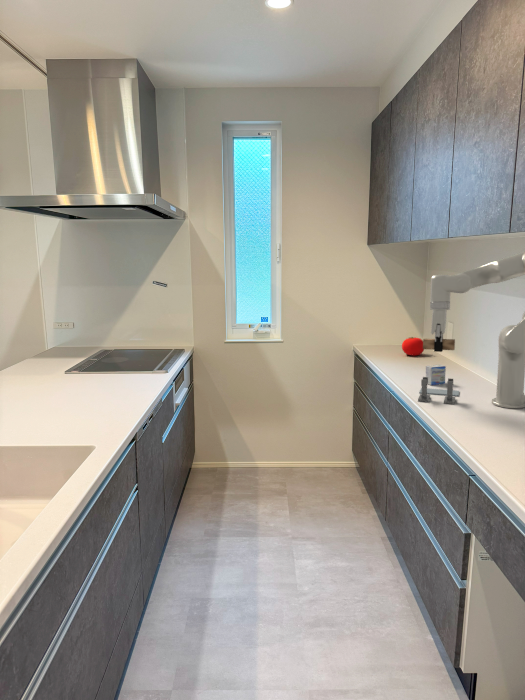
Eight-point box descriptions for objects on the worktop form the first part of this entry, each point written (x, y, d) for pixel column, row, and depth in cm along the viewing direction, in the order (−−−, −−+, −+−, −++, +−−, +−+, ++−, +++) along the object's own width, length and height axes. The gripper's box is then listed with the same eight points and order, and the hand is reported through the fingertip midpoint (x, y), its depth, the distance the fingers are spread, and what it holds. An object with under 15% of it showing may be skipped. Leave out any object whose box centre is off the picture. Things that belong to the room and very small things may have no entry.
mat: (459, 391, 211) (459, 390, 211) (458, 396, 204) (458, 395, 203) (421, 388, 217) (421, 387, 217) (419, 393, 210) (419, 392, 210)
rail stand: (455, 399, 199) (456, 378, 198) (454, 404, 192) (455, 382, 191) (420, 396, 205) (420, 376, 204) (418, 401, 198) (418, 380, 196)
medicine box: (430, 385, 223) (431, 367, 221) (425, 383, 227) (425, 365, 226) (445, 384, 225) (446, 366, 223) (439, 382, 229) (440, 364, 228)
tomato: (426, 356, 290) (427, 338, 288) (403, 357, 291) (404, 338, 289) (421, 353, 302) (421, 335, 300) (399, 353, 303) (399, 335, 301)
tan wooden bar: (454, 349, 194) (454, 339, 193) (454, 350, 191) (454, 340, 191) (423, 348, 199) (423, 338, 198) (422, 349, 196) (423, 339, 196)
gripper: (431, 304, 201) (430, 347, 204) (428, 307, 186) (427, 353, 190) (451, 304, 198) (449, 347, 201) (448, 307, 183) (447, 354, 186)
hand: (438, 350), depth 195 cm, fingers closed on tan wooden bar, 3 cm apart
